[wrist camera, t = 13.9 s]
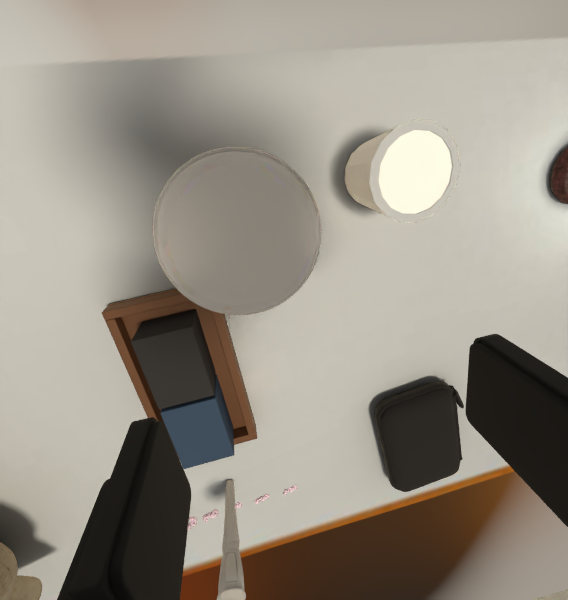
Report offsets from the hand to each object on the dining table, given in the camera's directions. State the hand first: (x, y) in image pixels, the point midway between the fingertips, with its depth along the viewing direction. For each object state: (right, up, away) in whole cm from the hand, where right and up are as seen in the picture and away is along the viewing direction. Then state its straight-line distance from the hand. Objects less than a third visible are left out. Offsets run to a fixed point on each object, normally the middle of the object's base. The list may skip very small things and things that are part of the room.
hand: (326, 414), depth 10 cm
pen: (-8, -18, +30) cm, 36 cm away
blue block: (-10, -8, +25) cm, 28 cm away
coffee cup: (-6, +11, +19) cm, 23 cm away
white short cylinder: (+7, +15, +20) cm, 26 cm away
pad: (-11, -1, +22) cm, 25 cm away
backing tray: (-11, -4, +24) cm, 26 cm away
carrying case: (+15, -13, +32) cm, 38 cm away
